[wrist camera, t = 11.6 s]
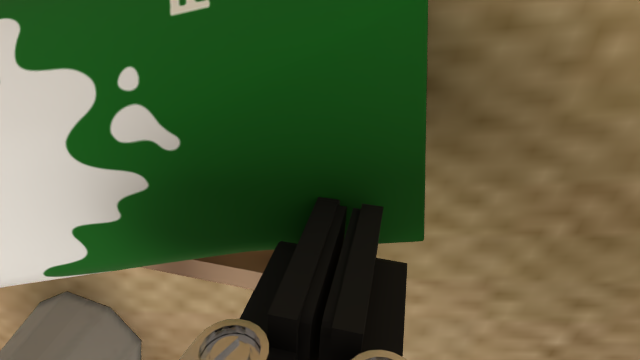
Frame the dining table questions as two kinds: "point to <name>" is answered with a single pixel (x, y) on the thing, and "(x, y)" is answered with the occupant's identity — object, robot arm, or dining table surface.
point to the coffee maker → (72, 333)
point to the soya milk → (202, 127)
